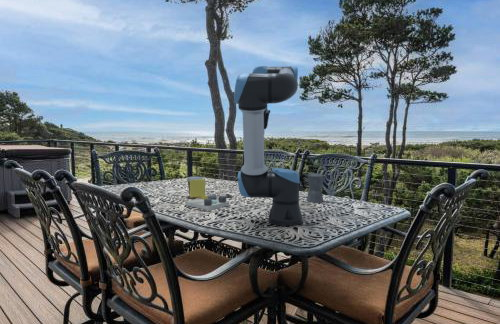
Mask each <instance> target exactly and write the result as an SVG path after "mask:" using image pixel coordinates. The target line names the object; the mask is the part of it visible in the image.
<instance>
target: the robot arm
mask: <svg viewBox="0 0 500 324" xmlns="http://www.w3.org/2000/svg"><path fill="white" fill-rule="evenodd" d="M298 72H299V71H298V67H297V66H292V65H291V66H290V65H289V66H267V65H257V66H254V68H253V70H252V72H248V73H247V72H246V73H240V74H238V75H237V77H236V80H235V84H234V96H233V100H234V101H233V102H234V104H236V105H237V107H238V109H239V110H240V112H242V135H243V137H242V139H243V140H242V141H243V161H244V163H243V164H244V165H242V166H241V168H240V171H238V172H237V185H238V191H239V193H240V195H241V197H243V198H250V199H252V198H256V199H257V198H258V199H259V198H260V199H261V198H264V199H266V198H267V199H272V205H271V208H270V210H269V213H268V222H269V224H271V225H272V224H273V225H276V226H284V227H285V226H286V227H287V226H289V227H290V226H299V225H302V224H303V223H304V220H303V219H304V216H303V214H302V210H301V207H300V183H301V181H300V174H299V172H298V171H296V170H292V169H288V168H280V167H274V168H272V171H268V170H269V169H268V166H267V165H266V164H265V130H266V129H267V128H268V124H269V117H270V113H271V110H269V109H268V105H269V104H280V103H283V102H285V101H288V100H290V99H291V98H292V97H294V95H296V93H297V91H298V89H299V84H298V76H299V75H298V74H299V73H298Z"/></svg>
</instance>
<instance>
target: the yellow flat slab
mask: <svg viewBox="0 0 500 324" xmlns="http://www.w3.org/2000/svg"><path fill="white" fill-rule="evenodd" d="M190 197H200V198H199V199H201V200H202V199H212V200H218V199H217V194H207V195H206V179H205V178H204V179H203V178H202V179H198V180H190V195H189V198H190Z"/></svg>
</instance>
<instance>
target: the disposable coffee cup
mask: <svg viewBox="0 0 500 324" xmlns="http://www.w3.org/2000/svg"><path fill="white" fill-rule="evenodd" d="M198 179H203V177H202V176H187V179H186V181H187V187H188V193H189V198H191V199H200V197H190V180H198Z"/></svg>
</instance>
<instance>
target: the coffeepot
mask: <svg viewBox="0 0 500 324" xmlns="http://www.w3.org/2000/svg"><path fill="white" fill-rule="evenodd" d="M304 178H307V183H308V184H307V185H308V187H309V189H308V191H307V197H306V202H307V203H311V204H322V203H323V202H324V197H323V191H322V188H323V186H324V182H325V180H326V179H327V178H328V176H327V175H324V174H320V173H318V170H316V169H315V170H314V173H311V174H307V173H302V174H301V175H299V181H300V183H301V187H302V188H303V189H307V188H308V187H307V186H305V182H304Z"/></svg>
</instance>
